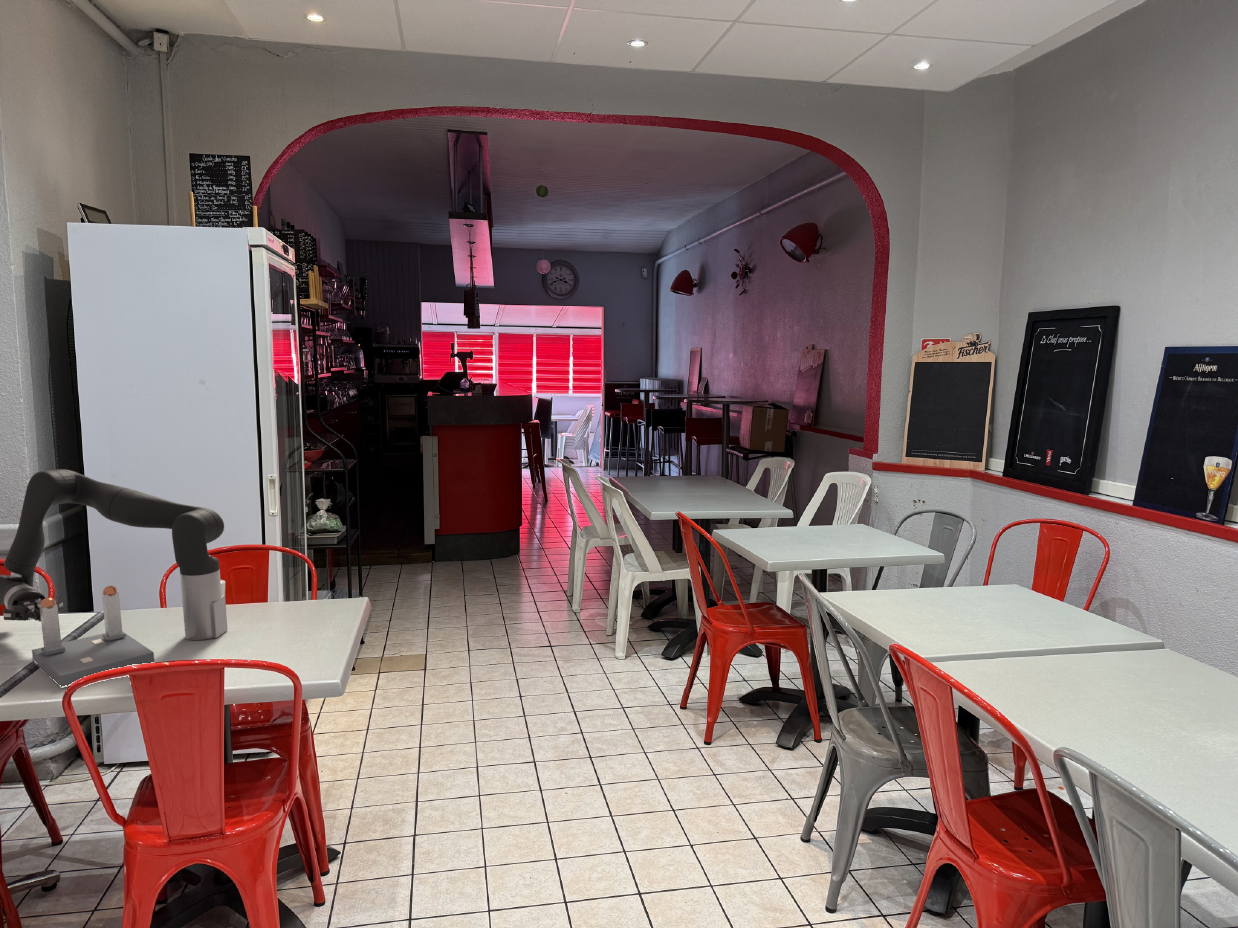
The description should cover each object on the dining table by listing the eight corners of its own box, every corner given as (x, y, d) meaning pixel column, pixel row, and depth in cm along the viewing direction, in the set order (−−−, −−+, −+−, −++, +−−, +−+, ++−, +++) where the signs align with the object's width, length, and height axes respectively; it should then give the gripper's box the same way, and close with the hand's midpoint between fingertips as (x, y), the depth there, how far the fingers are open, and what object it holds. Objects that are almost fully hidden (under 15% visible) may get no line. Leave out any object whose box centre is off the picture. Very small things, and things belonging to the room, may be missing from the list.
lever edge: (41, 651, 195) (35, 597, 193) (60, 646, 198) (55, 594, 196) (45, 655, 192) (39, 601, 190) (65, 650, 195) (59, 597, 193)
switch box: (33, 661, 197) (31, 649, 197) (121, 640, 211) (119, 628, 211) (61, 688, 181) (60, 674, 181) (154, 664, 195) (153, 651, 195)
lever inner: (102, 637, 204) (97, 586, 202) (120, 633, 207) (116, 582, 205) (108, 640, 202) (103, 589, 200) (126, 636, 205) (121, 585, 203)
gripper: (-9, 593, 204) (8, 608, 192) (53, 582, 213) (73, 596, 202) (-6, 622, 205) (11, 638, 193) (56, 610, 214) (76, 625, 203)
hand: (43, 616), depth 198 cm, fingers closed
